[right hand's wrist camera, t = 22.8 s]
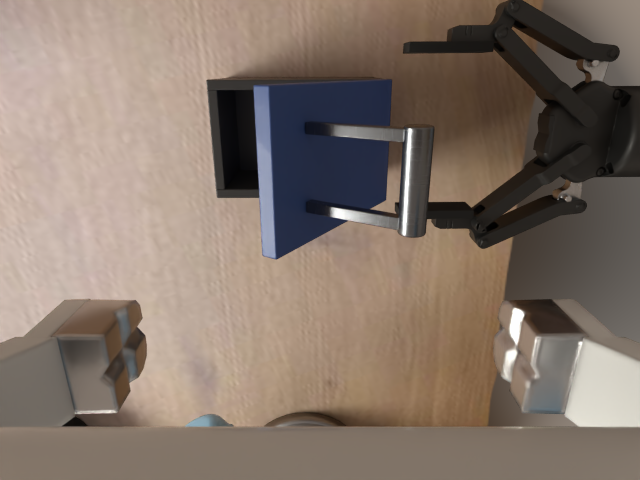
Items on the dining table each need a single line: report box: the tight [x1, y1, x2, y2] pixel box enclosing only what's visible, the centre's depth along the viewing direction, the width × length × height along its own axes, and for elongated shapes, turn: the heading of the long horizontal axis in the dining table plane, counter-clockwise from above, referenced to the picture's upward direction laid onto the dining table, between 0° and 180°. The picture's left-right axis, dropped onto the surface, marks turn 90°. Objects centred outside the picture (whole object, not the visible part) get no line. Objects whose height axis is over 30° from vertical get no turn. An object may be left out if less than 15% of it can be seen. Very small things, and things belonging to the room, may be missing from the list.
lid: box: [254, 79, 435, 259], centre depth 28 cm, size 15×10×9 cm
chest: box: [207, 77, 380, 198], centre depth 41 cm, size 14×10×9 cm
